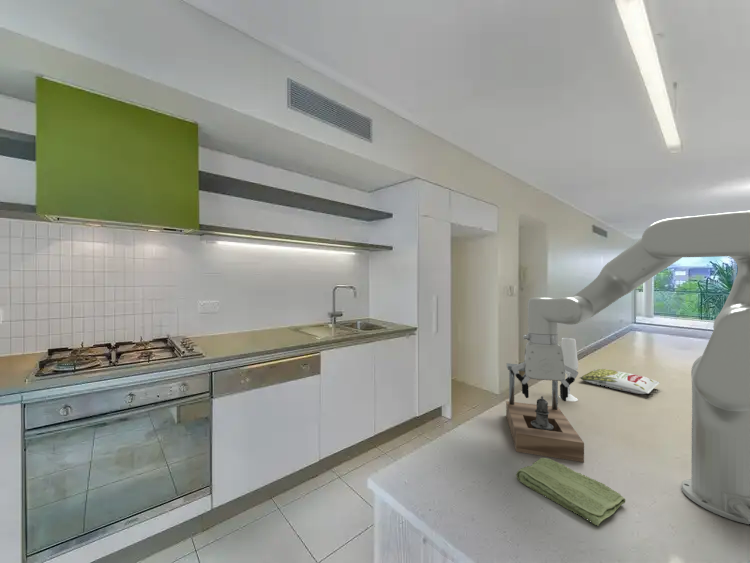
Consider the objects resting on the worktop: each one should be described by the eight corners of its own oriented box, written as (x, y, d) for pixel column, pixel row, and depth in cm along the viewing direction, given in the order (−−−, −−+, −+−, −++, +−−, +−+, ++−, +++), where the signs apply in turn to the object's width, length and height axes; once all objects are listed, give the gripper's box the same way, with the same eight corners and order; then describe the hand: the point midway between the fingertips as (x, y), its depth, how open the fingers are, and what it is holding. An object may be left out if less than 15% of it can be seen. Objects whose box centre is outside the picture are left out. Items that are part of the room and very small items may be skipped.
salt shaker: (556, 443, 86) (557, 400, 86) (534, 440, 87) (534, 398, 88) (549, 433, 92) (549, 393, 92) (528, 431, 93) (528, 391, 93)
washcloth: (601, 534, 57) (601, 516, 57) (513, 481, 71) (513, 468, 71) (628, 506, 64) (628, 491, 64) (543, 464, 79) (543, 451, 79)
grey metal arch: (561, 411, 98) (562, 370, 98) (507, 405, 103) (508, 366, 103) (558, 407, 102) (558, 367, 102) (506, 401, 106) (506, 363, 107)
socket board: (583, 462, 79) (584, 442, 79) (516, 451, 84) (516, 433, 84) (558, 422, 102) (558, 407, 102) (506, 415, 106) (506, 401, 106)
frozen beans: (594, 363, 156) (660, 375, 136) (594, 375, 156) (660, 388, 136) (578, 371, 143) (648, 386, 123) (578, 384, 143) (648, 400, 123)
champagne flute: (582, 400, 122) (582, 339, 122) (570, 402, 119) (570, 340, 119) (566, 394, 128) (566, 337, 128) (554, 396, 126) (555, 337, 126)
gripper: (512, 340, 89) (514, 399, 88) (581, 342, 84) (583, 405, 83) (509, 336, 96) (510, 391, 95) (572, 338, 91) (574, 396, 90)
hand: (544, 398), depth 89 cm, fingers open, 9 cm apart
